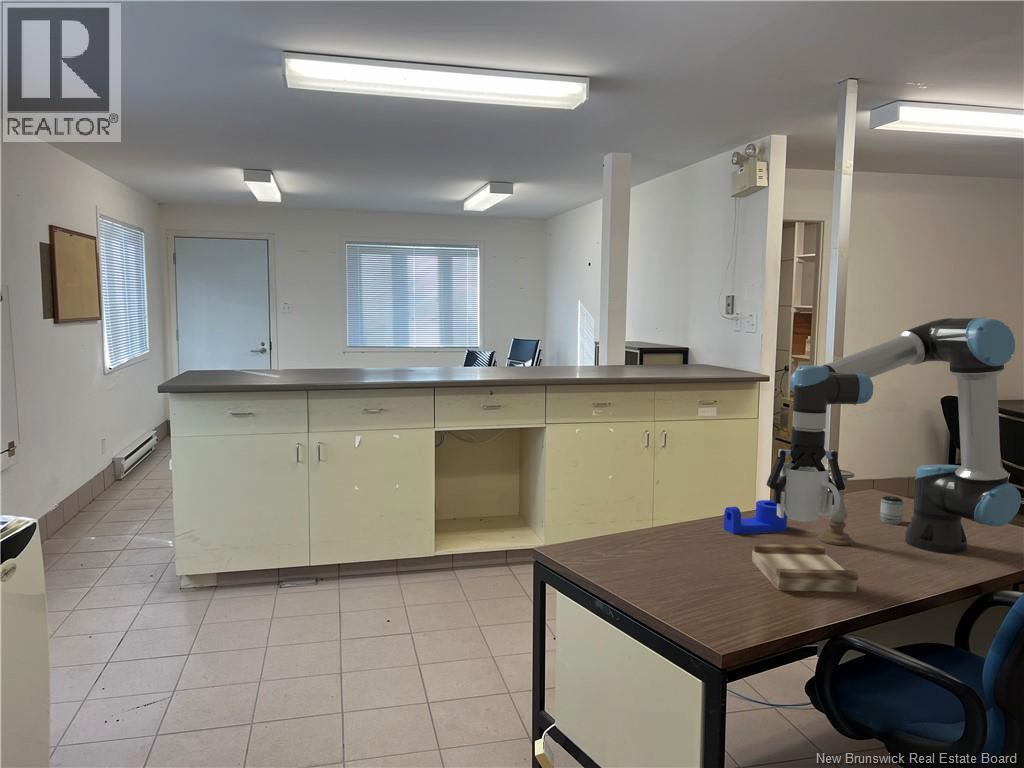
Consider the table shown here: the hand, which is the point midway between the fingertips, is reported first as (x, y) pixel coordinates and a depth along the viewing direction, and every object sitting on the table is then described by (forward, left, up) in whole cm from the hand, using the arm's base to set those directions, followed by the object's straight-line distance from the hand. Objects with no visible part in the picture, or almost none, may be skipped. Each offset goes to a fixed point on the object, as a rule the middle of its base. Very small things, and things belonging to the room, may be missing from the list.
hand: (803, 517), depth 171 cm
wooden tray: (0, 0, -15) cm, 15 cm away
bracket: (-1, -39, -15) cm, 41 cm away
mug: (-1, 0, -1) cm, 1 cm away
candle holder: (-21, -29, -15) cm, 38 cm away
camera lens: (-47, -49, -15) cm, 70 cm away
